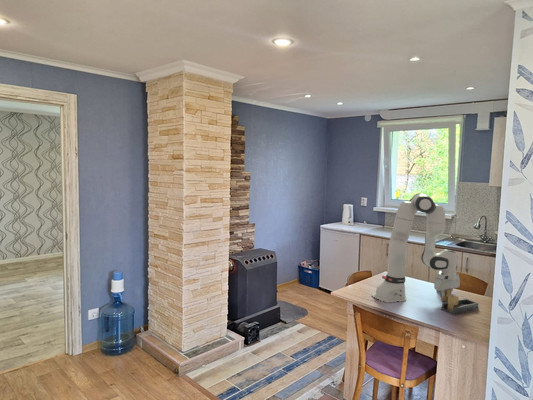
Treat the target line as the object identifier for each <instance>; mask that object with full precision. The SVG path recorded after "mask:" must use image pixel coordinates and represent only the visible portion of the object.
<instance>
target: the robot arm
mask: <svg viewBox="0 0 533 400" xmlns="http://www.w3.org/2000/svg"><path fill="white" fill-rule="evenodd" d="M417 212H420V213H423V214H424V213H425V216H426V223H425V224H426V225H425V226H426V229H425V237H424V247H423V252H422V254H421V256H420V259H421V262H422V264H424V265H425V266H427V267H428V268H430V269H432V270H435V271H438V270H441V271H439V272H438V273H437V272H436V273H435V274H434V277H435V279H434V283H433V285H434V286H433V287H434V290H436V291H437V290H438V291H437V292H439V291H441V292H442V296H446V293H445V292H444V291H445V290H446V289H452V292H453V291H454V289H457V288H459V287H460V285H461V284H460V283H461V280H460V275H459V273H457V265H458V254H457V253H456V252H455V251H454V250H451V249H446V248H445V249H443V250H441V251H440V252H438V253H437V252H436V250H435V249H436V241H437V240H436V239H437V238H438V237H439V236H441V235H443V234H444V233H445V230H446V211H445V208H444V206H442V204H441V205H440V204H436V203H435V202H434V200H433V198H432V197H431V196H430V195H428V194H425V193H423V192H422V193H421V192H420V193H419V192H418V193H416V194H414V195H413V196H412V197H411V199H409V201H407V200H406V201H402V202H401V203H399V206H398V208H397V211H396V213H395V217H394V222H393V226H392V227H393V228H392V229H391V234H390V237H389V240H388V241H389V242H388V258H387V269H386V270H387V272H386V275H382V276H381V278H382V279H383V281H382V282H381V283H380V284H379V285H378V286H377V287H376V289H375V292H374V293H372V294H371V296H372V298H374V297H375V298H377V299H379V300H378V301H380V300H382V301H381V302H383V301H385V302H384V303H397V301H399V302H406V301H407V297H406V287H405V283H406V265H407V263H406V262H407V258H408V257H407V256H408V241H409V237H410V234H411V231H412V228H413V223H414V219H415V215H416V213H417ZM441 292H440V293H441ZM375 298H374V299H375ZM377 299H376V300H377Z"/></svg>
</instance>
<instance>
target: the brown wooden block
mask: <svg viewBox="0 0 533 400" xmlns="http://www.w3.org/2000/svg"><path fill="white" fill-rule="evenodd" d="M444 292H445V293H446V296H442V292H440V293H441V294H440V296H441V298H440V299H441V300H440V301H443V302H444V303H447V302H448V295H452V292H453V291H452V289H446V290H445V291H444Z"/></svg>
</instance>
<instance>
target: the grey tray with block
mask: <svg viewBox="0 0 533 400" xmlns="http://www.w3.org/2000/svg"><path fill="white" fill-rule="evenodd" d="M479 309H480V307H479V302H477V301H475V300H471V299H468V298H462V299H460V297H459V296H457V295H455V294H451V295H448V302H444V303H441V309H440V310H442V311H443V312H446V313H448V314H451V315H452V316H458V315H462V314H465V313H470V312H474V311H479Z"/></svg>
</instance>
